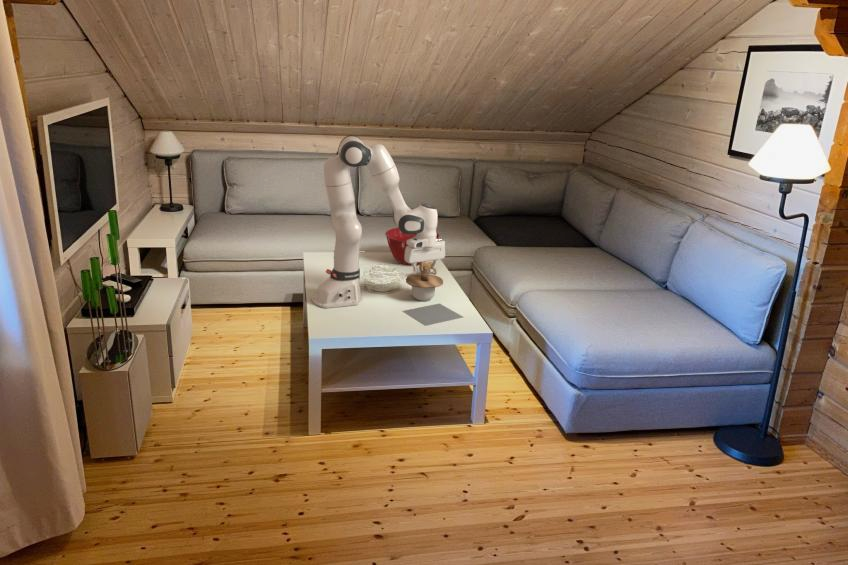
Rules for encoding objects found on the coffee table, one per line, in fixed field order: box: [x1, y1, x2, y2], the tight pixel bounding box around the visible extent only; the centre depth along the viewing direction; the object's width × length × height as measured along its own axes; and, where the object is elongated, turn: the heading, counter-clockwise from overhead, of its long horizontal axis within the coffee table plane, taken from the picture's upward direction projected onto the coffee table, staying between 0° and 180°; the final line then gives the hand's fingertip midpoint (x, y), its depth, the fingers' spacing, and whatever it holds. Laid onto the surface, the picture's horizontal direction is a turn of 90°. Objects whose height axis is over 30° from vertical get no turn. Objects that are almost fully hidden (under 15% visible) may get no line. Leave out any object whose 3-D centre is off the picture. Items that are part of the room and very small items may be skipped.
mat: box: [402, 303, 464, 327], centre depth 288 cm, size 20×18×1 cm
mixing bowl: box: [385, 227, 440, 266], centre depth 355 cm, size 28×28×16 cm
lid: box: [405, 271, 444, 289], centre depth 303 cm, size 17×17×5 cm
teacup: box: [411, 286, 436, 302], centre depth 305 cm, size 14×11×8 cm
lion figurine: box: [418, 261, 437, 275], centre depth 335 cm, size 15×5×9 cm, turn 153°
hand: (424, 270), depth 302 cm, fingers open, 8 cm apart
